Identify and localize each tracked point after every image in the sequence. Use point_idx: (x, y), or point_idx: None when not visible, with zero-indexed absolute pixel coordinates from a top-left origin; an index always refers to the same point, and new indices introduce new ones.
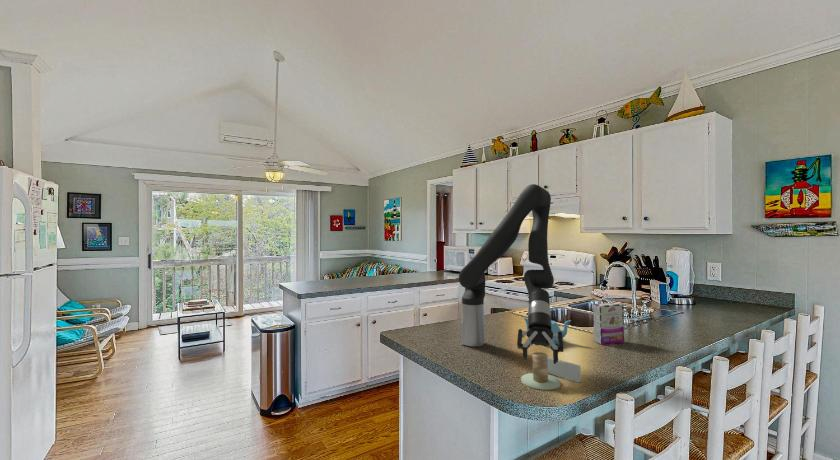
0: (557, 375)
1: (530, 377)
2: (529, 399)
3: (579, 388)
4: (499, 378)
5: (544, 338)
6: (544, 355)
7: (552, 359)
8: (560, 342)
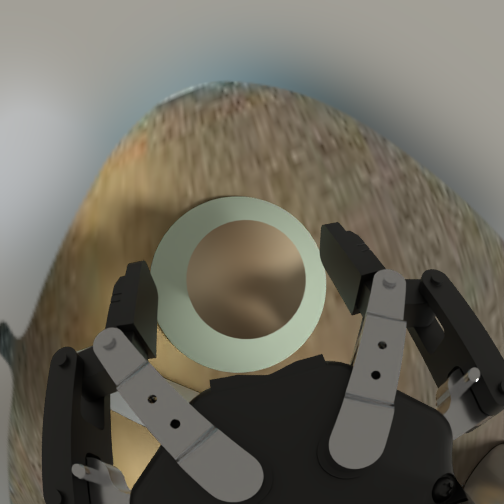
0: (183, 387)
1: None
2: (243, 111)
3: (88, 286)
4: (395, 243)
5: (220, 425)
6: (205, 269)
7: None
8: (63, 398)
